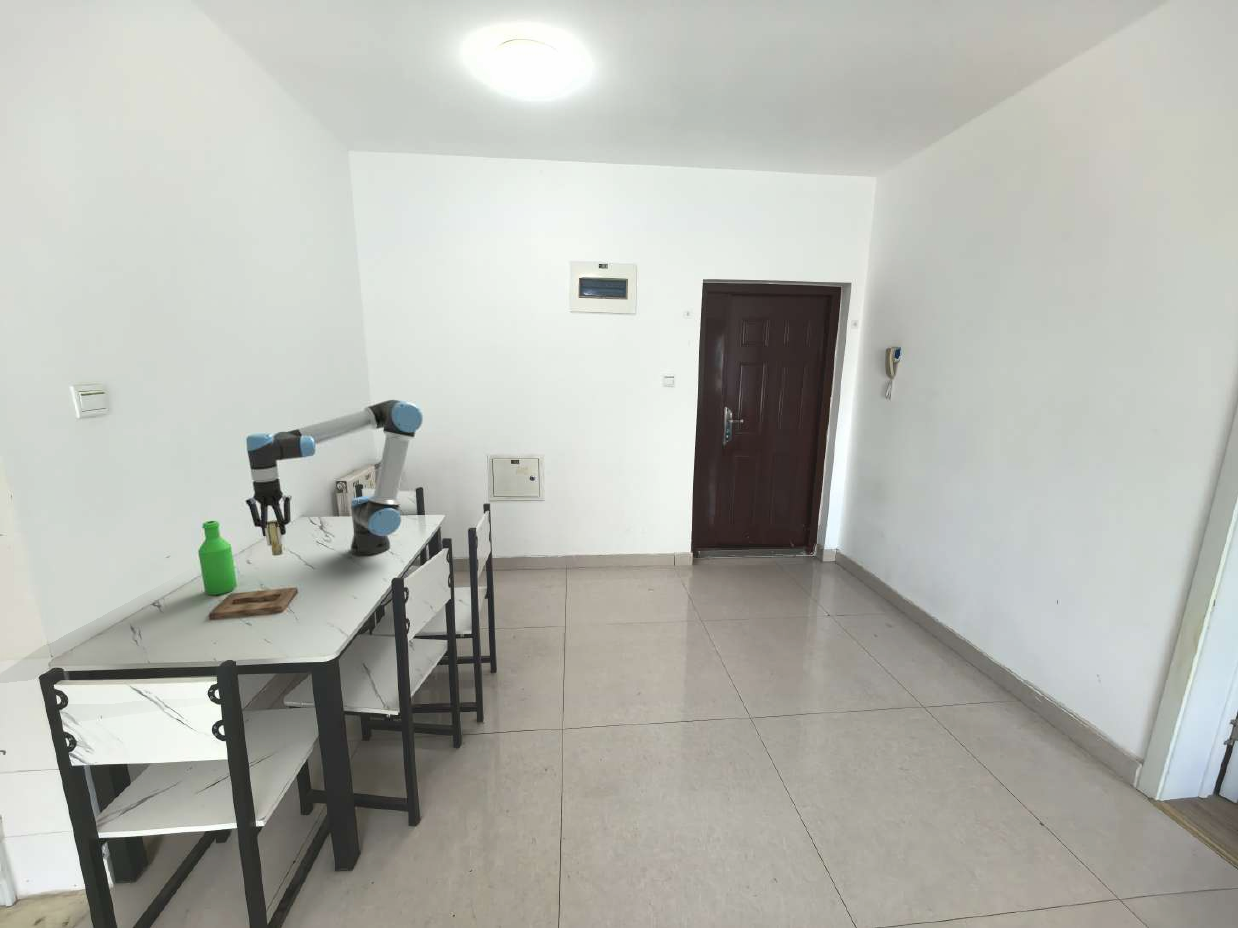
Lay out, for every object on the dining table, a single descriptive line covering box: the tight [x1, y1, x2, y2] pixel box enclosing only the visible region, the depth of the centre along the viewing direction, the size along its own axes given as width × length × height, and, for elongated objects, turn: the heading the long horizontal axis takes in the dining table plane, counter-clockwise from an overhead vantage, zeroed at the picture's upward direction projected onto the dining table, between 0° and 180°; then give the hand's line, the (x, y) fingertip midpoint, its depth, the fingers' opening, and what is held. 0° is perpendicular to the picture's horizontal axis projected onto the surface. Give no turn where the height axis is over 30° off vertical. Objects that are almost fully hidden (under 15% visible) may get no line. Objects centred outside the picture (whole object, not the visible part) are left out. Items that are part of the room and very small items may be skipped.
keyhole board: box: [208, 586, 299, 621], centre depth 165 cm, size 20×14×2 cm
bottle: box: [198, 520, 238, 596], centre depth 173 cm, size 9×9×25 cm
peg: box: [267, 519, 283, 557], centre depth 176 cm, size 3×3×12 cm
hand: (276, 543), depth 177 cm, fingers closed on peg, 3 cm apart
